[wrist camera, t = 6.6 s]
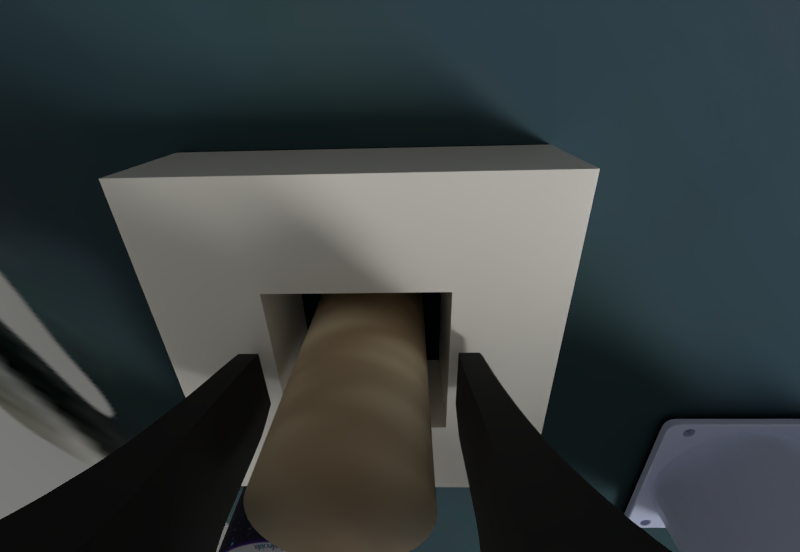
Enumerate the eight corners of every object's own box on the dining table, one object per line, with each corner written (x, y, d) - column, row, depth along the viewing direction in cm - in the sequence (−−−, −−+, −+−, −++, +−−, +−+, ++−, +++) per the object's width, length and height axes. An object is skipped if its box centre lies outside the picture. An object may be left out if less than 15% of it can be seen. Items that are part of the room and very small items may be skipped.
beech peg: (425, 261, 14) (443, 453, 7) (421, 347, 16) (431, 567, 9) (317, 259, 14) (225, 448, 7) (325, 345, 16) (260, 562, 9)
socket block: (550, 144, 12) (600, 168, 9) (508, 414, 18) (529, 487, 14) (176, 152, 12) (98, 178, 9) (252, 415, 18) (220, 485, 15)
